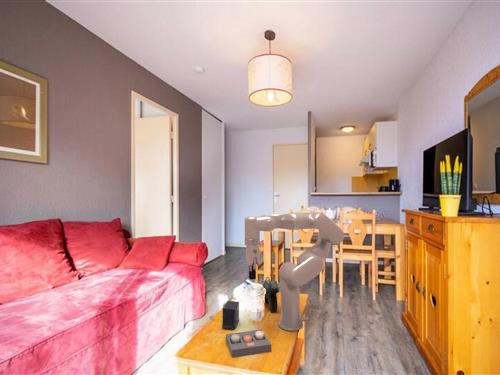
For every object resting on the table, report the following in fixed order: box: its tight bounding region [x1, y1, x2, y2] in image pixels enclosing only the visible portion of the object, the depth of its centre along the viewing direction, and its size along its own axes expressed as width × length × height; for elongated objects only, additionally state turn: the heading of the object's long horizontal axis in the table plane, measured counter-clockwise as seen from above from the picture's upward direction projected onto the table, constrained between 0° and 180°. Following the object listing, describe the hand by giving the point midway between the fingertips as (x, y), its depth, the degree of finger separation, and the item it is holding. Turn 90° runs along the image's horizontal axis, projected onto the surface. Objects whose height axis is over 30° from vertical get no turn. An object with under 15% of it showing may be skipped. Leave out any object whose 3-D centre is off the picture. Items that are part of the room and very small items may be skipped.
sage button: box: [231, 334, 240, 344], centre depth 122 cm, size 4×4×2 cm
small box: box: [221, 300, 240, 331], centre depth 144 cm, size 11×6×10 cm, turn 168°
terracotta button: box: [244, 335, 252, 342], centre depth 123 cm, size 4×4×2 cm
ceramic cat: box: [262, 273, 280, 314], centre depth 167 cm, size 20×6×20 cm, turn 13°
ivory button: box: [256, 330, 265, 340], centre depth 125 cm, size 4×4×2 cm
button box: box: [225, 329, 272, 358], centre depth 123 cm, size 17×14×3 cm
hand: (252, 279), depth 138 cm, fingers closed
